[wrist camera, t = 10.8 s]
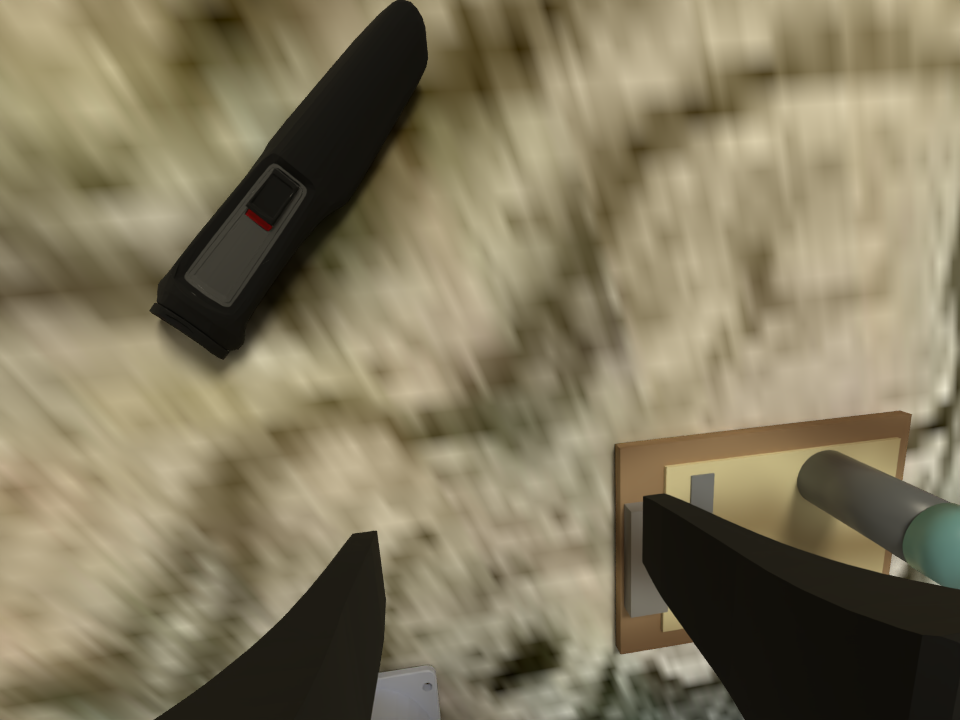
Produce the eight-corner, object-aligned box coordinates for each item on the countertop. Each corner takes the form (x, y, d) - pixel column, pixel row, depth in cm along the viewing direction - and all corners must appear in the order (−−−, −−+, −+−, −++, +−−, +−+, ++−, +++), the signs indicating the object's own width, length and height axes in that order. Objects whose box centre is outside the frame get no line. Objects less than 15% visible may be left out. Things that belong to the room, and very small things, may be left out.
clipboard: (873, 602, 27) (897, 620, 26) (616, 645, 25) (627, 667, 24) (900, 410, 25) (928, 419, 23) (615, 443, 23) (627, 455, 21)
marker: (850, 499, 24) (1013, 590, 17) (795, 508, 24) (939, 604, 17) (853, 444, 24) (1024, 516, 17) (796, 453, 23) (947, 530, 17)
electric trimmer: (451, 80, 19) (458, 44, 16) (233, 363, 20) (200, 379, 17) (379, 11, 18) (371, -41, 15) (155, 309, 19) (106, 317, 16)
